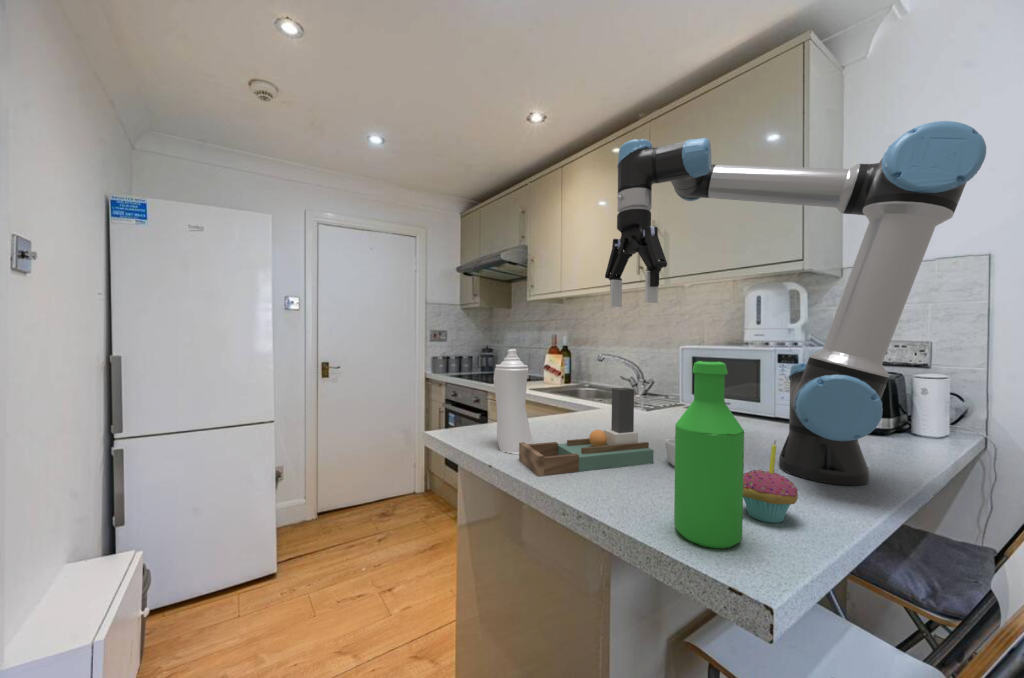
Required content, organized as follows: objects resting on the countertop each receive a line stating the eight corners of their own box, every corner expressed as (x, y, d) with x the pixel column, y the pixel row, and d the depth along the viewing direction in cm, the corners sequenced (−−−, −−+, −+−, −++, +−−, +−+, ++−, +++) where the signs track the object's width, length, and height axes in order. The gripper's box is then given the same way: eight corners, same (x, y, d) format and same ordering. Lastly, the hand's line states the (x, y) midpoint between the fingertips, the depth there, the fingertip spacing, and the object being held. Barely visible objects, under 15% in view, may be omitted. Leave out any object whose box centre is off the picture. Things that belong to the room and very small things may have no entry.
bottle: (750, 537, 59) (753, 362, 58) (729, 559, 52) (732, 364, 52) (688, 517, 65) (690, 359, 65) (663, 535, 59) (665, 361, 59)
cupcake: (756, 502, 71) (757, 433, 71) (810, 522, 63) (811, 445, 63) (724, 511, 67) (725, 438, 67) (777, 534, 60) (778, 451, 59)
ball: (610, 449, 93) (610, 431, 93) (595, 450, 91) (595, 432, 91) (600, 444, 96) (601, 427, 96) (585, 445, 95) (586, 428, 95)
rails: (648, 447, 94) (648, 442, 94) (583, 454, 88) (583, 448, 88) (628, 439, 101) (628, 435, 101) (566, 445, 96) (567, 440, 96)
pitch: (653, 463, 92) (653, 449, 92) (578, 471, 86) (578, 457, 86) (624, 450, 103) (624, 438, 103) (555, 456, 96) (555, 444, 96)
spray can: (482, 450, 101) (484, 349, 101) (500, 440, 111) (501, 348, 111) (526, 456, 97) (528, 350, 97) (541, 445, 107) (542, 349, 107)
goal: (578, 471, 86) (579, 452, 86) (538, 476, 83) (538, 456, 83) (555, 456, 97) (555, 439, 97) (519, 460, 94) (519, 442, 93)
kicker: (637, 445, 95) (638, 389, 95) (615, 448, 93) (616, 390, 92) (624, 440, 99) (625, 387, 99) (603, 442, 97) (604, 387, 97)
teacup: (665, 469, 88) (666, 444, 88) (664, 459, 95) (664, 436, 95) (717, 475, 85) (717, 449, 85) (711, 464, 92) (712, 440, 92)
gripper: (592, 224, 105) (590, 307, 105) (655, 192, 81) (653, 299, 81) (617, 227, 107) (616, 308, 107) (686, 197, 83) (684, 301, 84)
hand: (632, 304), depth 94 cm, fingers open, 13 cm apart
